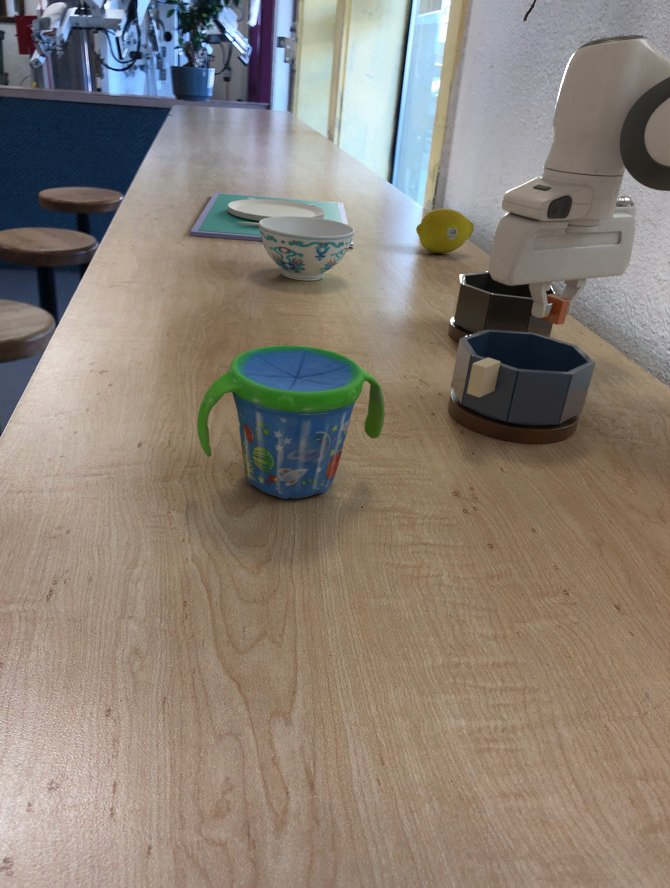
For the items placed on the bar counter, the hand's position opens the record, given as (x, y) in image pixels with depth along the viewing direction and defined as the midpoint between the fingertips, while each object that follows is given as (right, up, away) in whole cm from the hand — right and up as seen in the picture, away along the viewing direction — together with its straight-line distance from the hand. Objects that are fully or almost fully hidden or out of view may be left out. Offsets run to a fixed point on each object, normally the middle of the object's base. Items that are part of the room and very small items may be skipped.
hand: (550, 315), depth 98 cm
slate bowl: (-10, -13, -17) cm, 24 cm away
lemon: (-4, +24, +52) cm, 57 cm away
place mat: (-36, +36, +69) cm, 86 cm away
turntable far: (-5, -1, +8) cm, 9 cm away
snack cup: (-32, -21, -31) cm, 50 cm away
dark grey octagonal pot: (-4, 0, +6) cm, 7 cm away
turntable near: (-9, -14, -15) cm, 23 cm away
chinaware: (-30, +13, +29) cm, 44 cm away
